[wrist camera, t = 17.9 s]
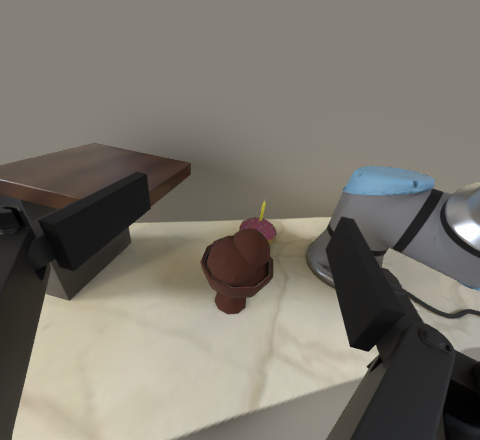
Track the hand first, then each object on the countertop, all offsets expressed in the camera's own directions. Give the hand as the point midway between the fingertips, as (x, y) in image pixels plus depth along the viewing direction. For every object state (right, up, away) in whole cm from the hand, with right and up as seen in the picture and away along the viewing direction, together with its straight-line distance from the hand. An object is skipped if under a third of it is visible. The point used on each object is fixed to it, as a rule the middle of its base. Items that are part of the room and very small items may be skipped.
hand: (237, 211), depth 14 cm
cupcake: (+4, -7, +35) cm, 36 cm away
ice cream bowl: (-1, -15, +22) cm, 27 cm away
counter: (-20, -10, +24) cm, 33 cm away
